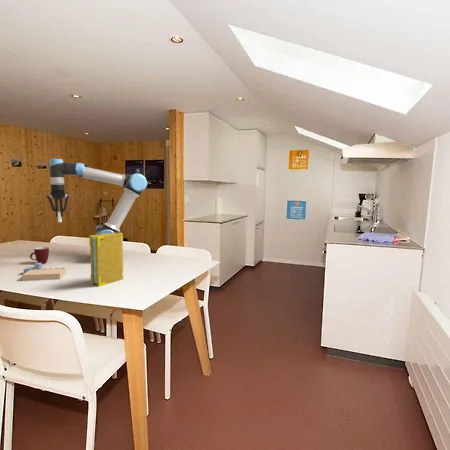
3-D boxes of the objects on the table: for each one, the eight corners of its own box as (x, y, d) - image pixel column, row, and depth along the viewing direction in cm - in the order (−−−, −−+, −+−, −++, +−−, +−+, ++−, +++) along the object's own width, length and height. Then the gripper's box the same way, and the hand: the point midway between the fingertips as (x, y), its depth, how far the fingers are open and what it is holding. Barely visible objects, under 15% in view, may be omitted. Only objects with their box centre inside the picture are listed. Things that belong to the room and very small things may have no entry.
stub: (42, 271, 179) (42, 262, 178) (39, 273, 173) (39, 264, 173) (27, 272, 177) (26, 262, 176) (23, 274, 171) (23, 265, 171)
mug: (31, 265, 192) (30, 250, 191) (29, 263, 198) (28, 248, 197) (50, 263, 199) (50, 248, 197) (48, 261, 205) (47, 246, 204)
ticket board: (65, 273, 176) (65, 267, 176) (59, 279, 165) (59, 273, 164) (30, 274, 172) (30, 269, 172) (22, 280, 160) (21, 274, 160)
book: (99, 286, 153) (97, 236, 151) (90, 284, 157) (89, 235, 154) (126, 278, 168) (125, 233, 165) (118, 276, 171) (117, 232, 168)
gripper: (70, 184, 196) (72, 221, 199) (47, 184, 192) (50, 221, 195) (68, 184, 189) (70, 222, 191) (44, 184, 185) (46, 223, 188)
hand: (60, 222), depth 193 cm, fingers closed
